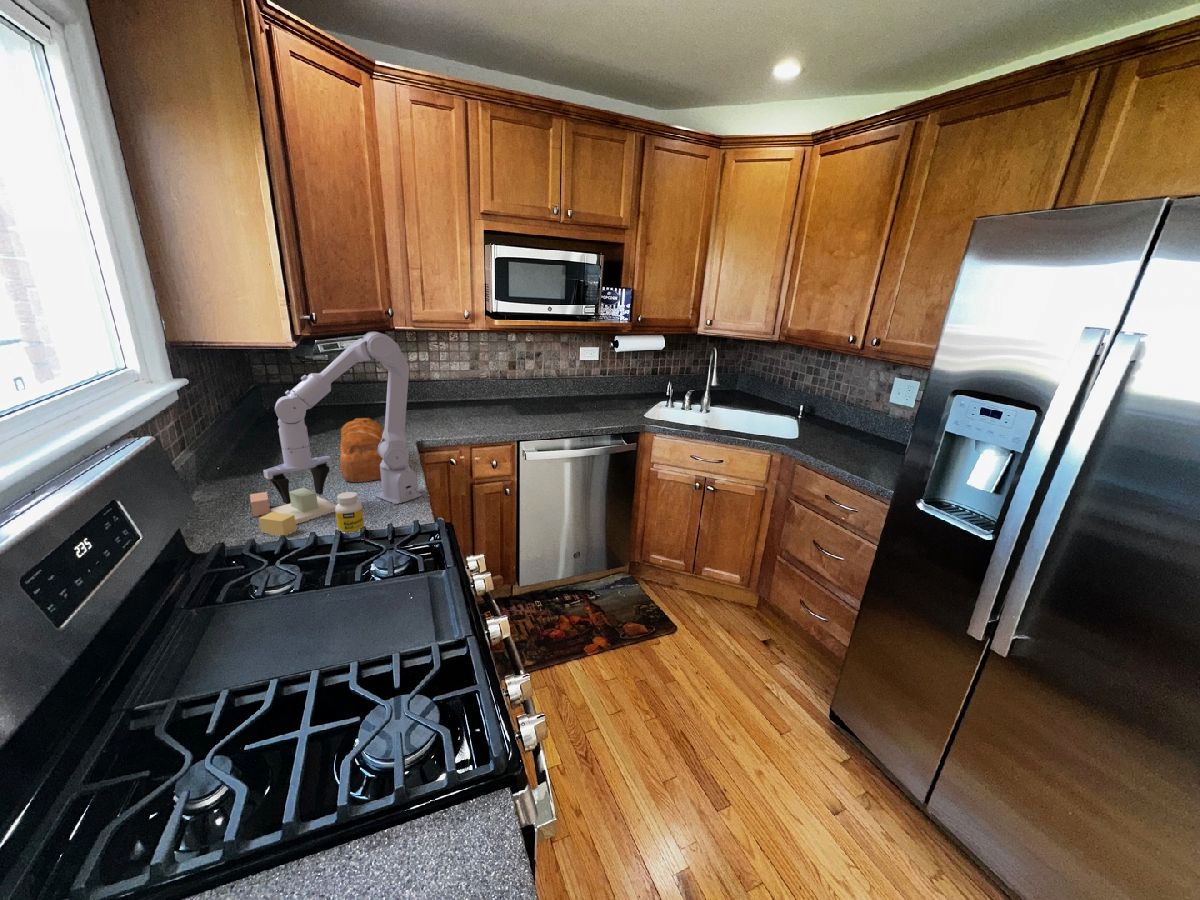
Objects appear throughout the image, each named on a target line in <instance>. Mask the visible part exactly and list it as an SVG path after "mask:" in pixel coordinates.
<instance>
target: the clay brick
mask: <svg viewBox="0 0 1200 900" xmlns="http://www.w3.org/2000/svg"><path fill="white" fill-rule="evenodd" d="M249 499H250V500H249V501H250V506H251V510H252V516H257V515H262V516H264V514H269V513H271V510H270V509H271V507H270V502H269V501H270V500H269V497H268V492H267V491H263V492H256V493H251V494H249ZM257 517H258V516H257Z"/></svg>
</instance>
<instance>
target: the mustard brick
mask: <svg viewBox="0 0 1200 900" xmlns="http://www.w3.org/2000/svg"><path fill="white" fill-rule="evenodd" d="M270 512H271V511H270ZM258 522H259V527H260V532H264V533H270V534H276V535H287V536H288V534H289V533H290V532H293V531H294V532H296V531H297V524H296V523H295V516H294V515H291V514H283V513H276V512H271V513H269V514H266V515H262V516H259V517H258ZM295 530H296V531H295ZM294 532H293V533H294ZM289 535H290V534H289Z"/></svg>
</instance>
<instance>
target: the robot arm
mask: <svg viewBox="0 0 1200 900" xmlns="http://www.w3.org/2000/svg"><path fill="white" fill-rule="evenodd" d="M371 357H372V358H374V359H376V360H377V361H379V362H380V364H381V365H382V366H383V367H384V368H385V369H386V370H387V388H386V402H385V404H386V405H385V416H384V417H385V419H384V429H383V430H382V431H383V434H382V440H381V442H380V443H379V445H378V454H379V455H380V457H382V458H383V459H382V462H381V463H380V473H381V479H380V481H381V482H380V484H381V490H382V491H381V492H380V493H377V494H376V495H375V496H376V497H377V498H378V499H382V500H384V501H386V502H389V503H391V502H392V503H391V504H393V505H394V504H395V505H399V503H400V504H402V502H403V503H404V502H405V503H406V502H407V501H412V500H413V499H416V498H419V497H421V496H422V493H419V485H418V483H419V481H418V475H417V473H416V472H415V471H414V470H413V469H411V467H410V465H409V460H410V453H409V450H408V449H407V438H406V435H405V434H406V433H405V429H406V417H407V405H408V404H407V403H408V389H409V379H410V378H409V377H410V365H409V363H408V362H407V360H406V358H405V356H404V354H403V353H402V351H401V348H400V346H399V344H398V343H397V342H396V341H395V340H394V339H392V338H391V337H390V336H389V335H387V334H385V333H381V332H379V331H368V332H366V334H363V337H362V338H357V340H355V341H354V342H352V344H351V343H350V345H349V346H348V347H346V348H345V350H343V351H342V352H341V353H340V354H338V356H337V357H335V358H334V360H333V361H332V362H330V364H328V365H327V366H326V367H325V368H324V369H323V370H321V371H320V372H317V373H316V372H315V373H313V372H311V373H309V374H308V375H306V374H304V375H302V376H301V377H300V380H301V381H300V382H299V383H298V384H296V385H295V386H294V387H293V388H292V389H291V390H289V389H287V390H286V391H285V392H284V393H285V396H284V395H283V396H281V397H279V398H278V399H277V401H276V402H275V405H274V412H275V414H276V416H277V418H278V420H277V425H278V426H279V427H278V434H279V441H280V447H281V454H282V459H283V463H281V464H279V465H276V466H273V467H269V468H267V469H263V477H264V478H265V479H267V480H269V481H270V482H271V484H272V485H273V486H274V487H275V489H276V490H277V492H278V493H279V495H280V497H281V499H282V501H283V502H282V503H284V504H285V505H286V504H291V500H290V495H289V492H290V487H289V486H290V479H289V478H287V477H286V476H285V475H288V474H292V473H298V472H302V471H305V470H310V471H311V475H312V479H313V484H314V490H315V491H314V492H315V493H316V495H317V494H318V495H319V496H322V495H323V493H324V487H325V482H326V479H327V477H328V474H329V473H330V471H331V468H330V466H329V465H332V460H331V456H328V455H323V456H317V457H316V456H315V457H312V454H311V448H310V440H309V434H308V426H307V425H306V423H305V421H306V420H305V417H306V414H307V410H310V409H313V407H315V405H317V404H318V403H319V402H320V401H321V400H322V399H323V398H325V397H326V396H327V395H328V394H330V392H331V391H332V383H333V382H334V381H335V380H337V379H338V378H340V377H341V376H342V375H343V374H344V373H345V372H347V371H348V370H349V369H350V368H351V367H353V366H354V365H356V364H357V363H361V362H369V361H371Z"/></svg>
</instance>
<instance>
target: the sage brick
mask: <svg viewBox="0 0 1200 900" xmlns="http://www.w3.org/2000/svg"><path fill="white" fill-rule="evenodd" d="M289 495H290V500H291V507H293V508H295V509H297V510H299V511H301V512H303V513H304V512H307V511H310V510H313V509H316V508H318V503H317V496H318V495H317V493H316V492H315V491H312V490H310V489H308V488H305V487H301V488H298V489H295V490H289Z"/></svg>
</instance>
